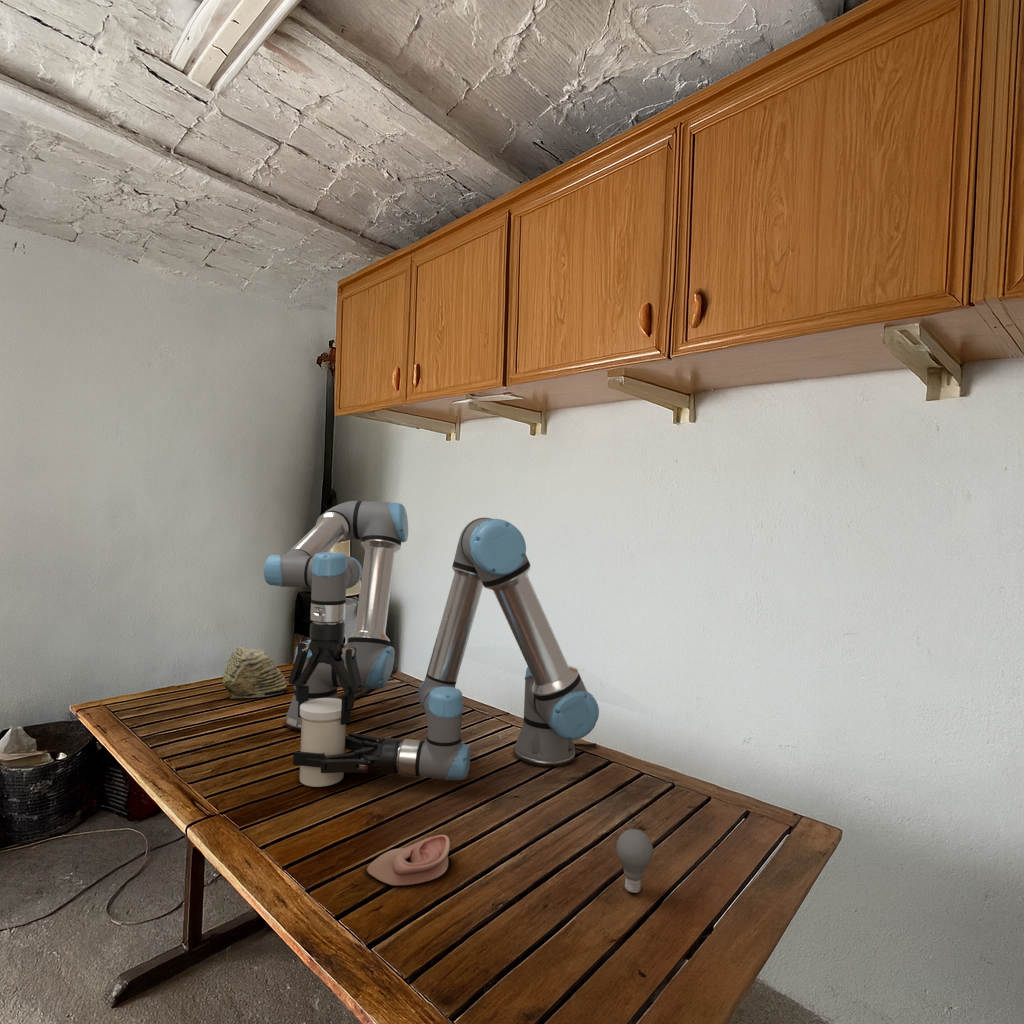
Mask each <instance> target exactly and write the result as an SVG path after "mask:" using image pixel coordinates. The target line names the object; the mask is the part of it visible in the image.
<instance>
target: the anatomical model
mask: <svg viewBox="0 0 1024 1024" xmlns="http://www.w3.org/2000/svg"><path fill="white" fill-rule="evenodd" d="M450 849H451V843H450V838H449V836H448V835H446V834H437V835H434V836H430V837H426V838H423V839H421V840H419V841H417V842H415V843H413V844H410V845H408V846H406V847H403V848H402V847H400V848H394V849H390V850H388V851H386V852H384V853H382V854H381V855H379V856H378V857H376V858H375V859H374V860H373V861H371V862H370V864H369V865H368V866H367V868H366V872H367V873H368V874H369V875H370V876H371V877H373V878H374V879H376V880H378V881H379V882H382V883H384V884H386V885H389V886H410V885H415V884H421V883H425V882H430V881H432V880H435V879H437V878H439V877H441V876H443V874H445V873H446V872H447V870H448V868H449V857H448V855H449V853H450Z"/></svg>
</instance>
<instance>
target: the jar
mask: <svg viewBox="0 0 1024 1024" xmlns="http://www.w3.org/2000/svg"><path fill="white" fill-rule="evenodd" d="M346 735H347V723H346V724H345V725H341V718H338V719H334V720H326V721H314V720H308V719H305V718H301V731H300V746H299V747H300V748H299V752H309V753H321V754H322V753H324V754H325V756H328V755H337V754H345V753H346V749H345V738H346ZM298 774H299V775H298V781H299V782H300V783H301V784H302V785H304V786H307V787H315V788H321V787H329V786H332V785H335V784H338V783H339V782H341V781H342V780H343V779H344V777H345V773H321V767H311V766H300V765H299V773H298Z"/></svg>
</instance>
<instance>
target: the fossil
mask: <svg viewBox="0 0 1024 1024" xmlns="http://www.w3.org/2000/svg"><path fill="white" fill-rule="evenodd" d="M222 676H223V677H222V685H223V687H224V688H225V690H226V691H228V693H229V698H230V699H250V698H264V697H271V696H275V695H281V694H284V693H285V691H286V689H287V687H288V686H287V680H286V678H285V676H284V674H283V673H282V672H281V669H279V668H278V667H277V665H276V663H275V662H274V660H273V659H272V658H271V657H270V656H269V655H268V654H267V653H266V652H265V650H264V649H263V648H260V647H258V648H251V647H247V646H246V647H245V646H238V647H237V648H236V649H235V650H233V651H232V653H231V656H230V657H229V659H228V660H227V663H226V666H225V668H224V671H223V675H222Z"/></svg>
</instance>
